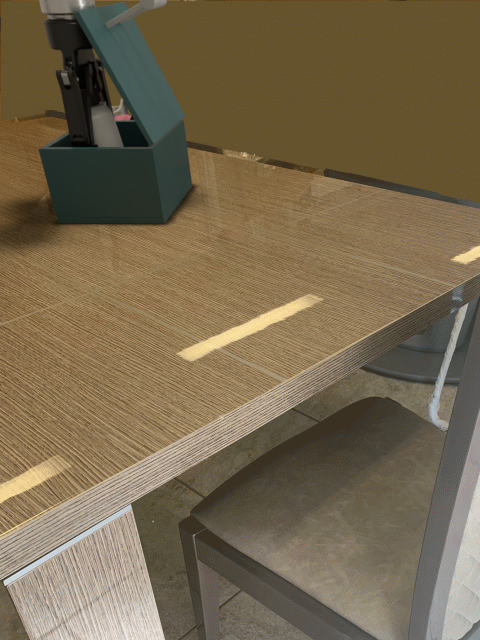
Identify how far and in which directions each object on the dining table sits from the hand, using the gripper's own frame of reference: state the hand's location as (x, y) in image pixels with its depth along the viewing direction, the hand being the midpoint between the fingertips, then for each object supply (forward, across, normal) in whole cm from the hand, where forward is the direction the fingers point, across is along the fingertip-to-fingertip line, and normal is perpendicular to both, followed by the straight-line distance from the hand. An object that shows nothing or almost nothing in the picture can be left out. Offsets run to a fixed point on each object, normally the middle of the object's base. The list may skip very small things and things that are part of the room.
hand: (104, 181), depth 106 cm
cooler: (+4, 0, +4) cm, 5 cm away
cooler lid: (-16, 0, +8) cm, 18 cm away
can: (+1, 0, +2) cm, 2 cm away
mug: (+4, -43, -12) cm, 45 cm away
